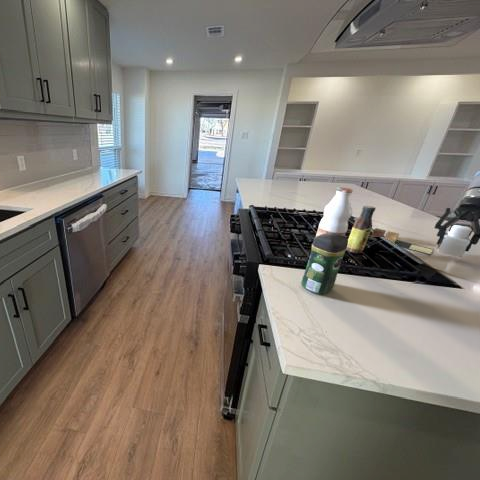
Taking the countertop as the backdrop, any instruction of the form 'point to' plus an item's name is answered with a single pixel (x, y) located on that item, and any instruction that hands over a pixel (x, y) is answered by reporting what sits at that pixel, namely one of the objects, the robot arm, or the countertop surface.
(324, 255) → the coffee jar
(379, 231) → the walnut letter tile
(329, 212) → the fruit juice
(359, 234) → the sauce bottle
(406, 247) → the word mat
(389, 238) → the maple letter tile
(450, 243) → the medicine bottle
